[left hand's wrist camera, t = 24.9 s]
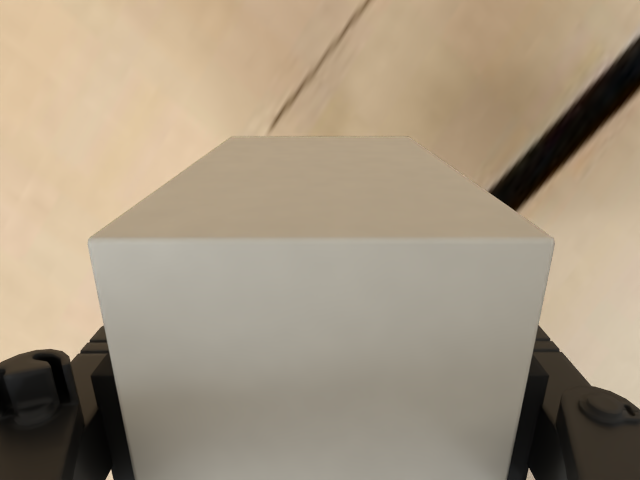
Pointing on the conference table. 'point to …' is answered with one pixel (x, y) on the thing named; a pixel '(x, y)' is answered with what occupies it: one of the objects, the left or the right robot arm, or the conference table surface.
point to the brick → (320, 315)
